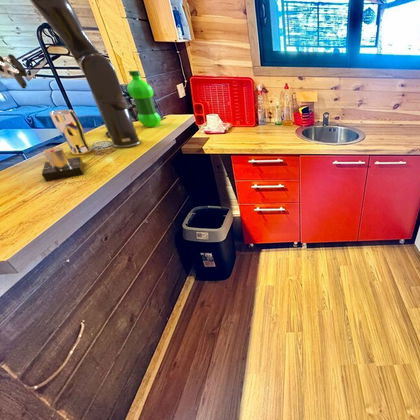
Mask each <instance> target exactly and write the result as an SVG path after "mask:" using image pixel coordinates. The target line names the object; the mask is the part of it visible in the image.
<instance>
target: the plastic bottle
mask: <svg viewBox="0 0 420 420" xmlns="http://www.w3.org/2000/svg"><path fill="white" fill-rule="evenodd" d="M128 74H129V76H130V77H131V81H130V82H129V83H128V84H127V86H126V87H127V88H126V91H127V93H128V94H129V96H130V97H131V98H132V99H133V101H134V104H135V107H136V109H137V112H138V113H137V119H138V121H139V122H140V124H142V125H143V126H145V127H146V128H154V127H158V126H159V124H160V123H161V122H162V121H161V120H162V118H161V116H160V115H159V113H158V112H157V109H156V106H155V103H154V102H155V101H154V99H153V97H154V90H153V87H152V86H151V85H150V84H148V83H147V82H146V81H144V80H142V79H141V76H142V75H141V72H140V70H128Z"/></svg>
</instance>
